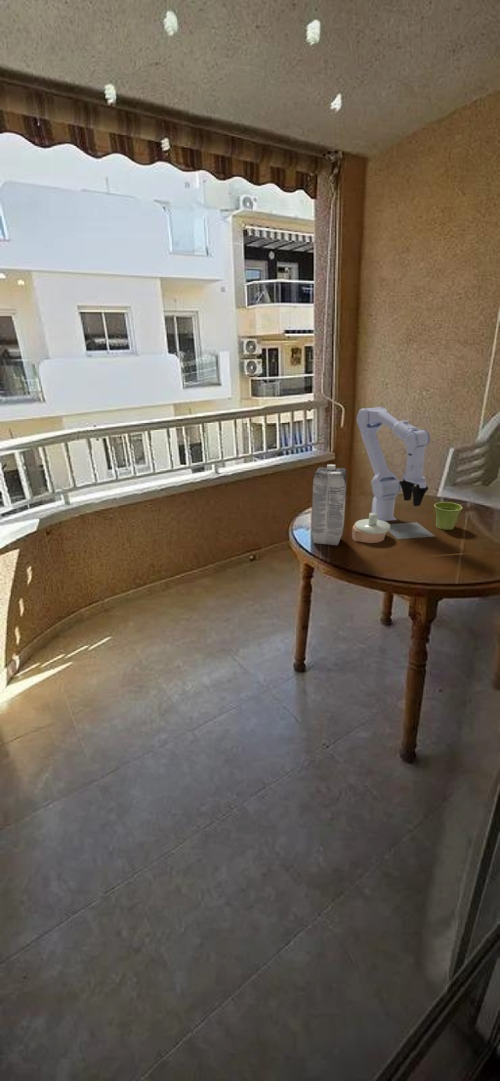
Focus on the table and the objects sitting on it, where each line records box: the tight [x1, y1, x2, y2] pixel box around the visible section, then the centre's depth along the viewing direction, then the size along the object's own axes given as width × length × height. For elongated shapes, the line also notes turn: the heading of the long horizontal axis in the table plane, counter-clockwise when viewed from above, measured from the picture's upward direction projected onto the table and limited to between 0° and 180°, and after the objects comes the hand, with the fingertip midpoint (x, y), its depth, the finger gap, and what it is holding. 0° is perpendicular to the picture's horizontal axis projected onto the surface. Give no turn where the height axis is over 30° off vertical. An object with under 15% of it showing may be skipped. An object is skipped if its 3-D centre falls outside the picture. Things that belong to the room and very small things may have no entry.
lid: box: [354, 512, 391, 534], centre depth 153 cm, size 12×12×5 cm
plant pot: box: [433, 501, 463, 531], centre depth 161 cm, size 9×9×9 cm
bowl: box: [351, 523, 386, 544], centre depth 155 cm, size 11×11×4 cm
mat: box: [388, 522, 435, 540], centre depth 160 cm, size 14×14×1 cm
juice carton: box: [311, 464, 347, 546], centre depth 149 cm, size 9×10×27 cm
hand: (411, 503), depth 158 cm, fingers open, 7 cm apart
